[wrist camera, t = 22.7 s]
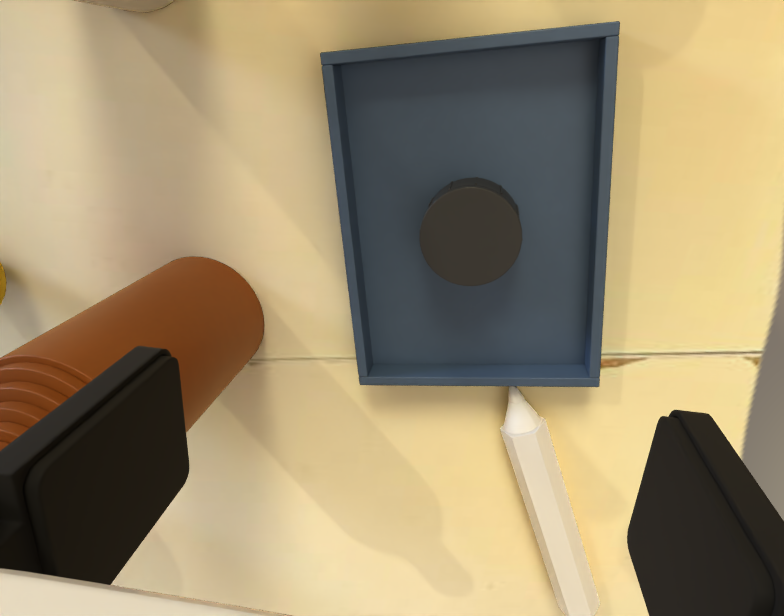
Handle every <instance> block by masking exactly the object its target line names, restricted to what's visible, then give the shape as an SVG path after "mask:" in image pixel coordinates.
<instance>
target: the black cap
mask: <svg viewBox="0 0 784 616" xmlns="http://www.w3.org/2000/svg"><path fill="white" fill-rule="evenodd" d="M419 241H420V247H421V251H422V254H423V256H424V259H425V260H426V262H427V264H428V265H429V266H430V268H431V269H432V270H433V271H434V272H435V273H436V274H437V275H439V276H440V277H441V278H443V279H445V280H446V281H449V282H451V283H454V284H457V285H462V286H479V285H484V284H487V283H490V282H492V281H494V280H496V279H498V278H499V277H501V276H502V275H504V274H505V273H506V272H507V271H508V270H509V269H510V268H511V267H512V265H513V264H514V262H515V261H516V259H517V257H518V255H519V252H520V249H521V245H522V241H523V238H522V228H521V223H520V218H519V209H518V205H516V204H515V202H514V200H513V199H512V197H511V196H510V194H509V193H508V192H507V191H506V190H505V189H503V188H502V185H498V184H496V183H494V182H492V181H490V180H486V179H483V178H478V177H476V178H464V179H460V180H457V181H454V182H453V181H451V183H450V184H448V185H447V186H445V187H444V188H443V189H441V190H440V191H439V192H438V193H437V194H436V196H435V197H433V198H432V199H431V201H430V203H429V205H428V209H427V211H426V213H425V215H424V218H423V220H422V223H421V226H420V233H419Z"/></svg>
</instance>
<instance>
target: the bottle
mask: <svg viewBox="0 0 784 616" xmlns="http://www.w3.org/2000/svg"><path fill="white" fill-rule="evenodd" d="M74 1H79V2H84V3H90V4H95V5H101V6H107V7H112V8H118V9H122V10H126V11H136V12H150V11H154V10H157V9H161V8H163V7H166V6H167V5H169V4H170V3H172V2H173V1H174V0H74Z"/></svg>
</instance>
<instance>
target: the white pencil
mask: <svg viewBox="0 0 784 616" xmlns="http://www.w3.org/2000/svg"><path fill="white" fill-rule="evenodd" d="M500 430H501V433H502V436H503V439H504V442H505V445H506V448H507V451H508V454H509V457H510V460H511V463H512V466H513V470H514V473H515V476H516V479H517V482H518V485H519V488H520V491H521V494H522V497H523V500H524V503H525V506H526V509H527V512H528V515H529V518H530V521H531V524H532V527H533V530H534V533H535V536H536V539H537V542H538V545H539V548H540V551H541V554H542V557H543V560H544V563H545V566H546V569H547V572H548V576H549V579H550V582H551V585H552V588H553V591H554V594H555V597H556V600H557V603H558V606H559V608H560V609H561V610H562V612H563V613H564V614H565V615H566V616H595V614H596V612H597V610H598V607H599V605H600V600H599V597H598V594H597V590H596V587H595V584H594V580H593V577H592V574H591V570H590V567H589V563H588V560H587V557H586V553H585V550H584V547H583V543H582V540H581V537H580V533H579V530H578V527H577V523H576V520H575V517H574V513H573V510H572V507H571V503H570V500H569V497H568V493H567V490H566V486H565V483H564V480H563V476H562V473H561V470H560V466H559V463H558V460H557V456H556V453H555V450H554V446H553V443H552V440H551V436H550V433H549V430H548V426H547V423H546V420H545V419H544V418H543V417H541V416H539V415H538V413H537V412H536V411H535V410H534V409H533V408H532V407H531V406H530V404H529V403H528V402H527V401H526V400H525V399H524V396H523V395H522V394H521V392H520V391H519V390H518V388H517V387H516V386H509V403H508V407H507V412H506V417H505V422H504V424H503V425H502V427H501V428H500Z"/></svg>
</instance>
